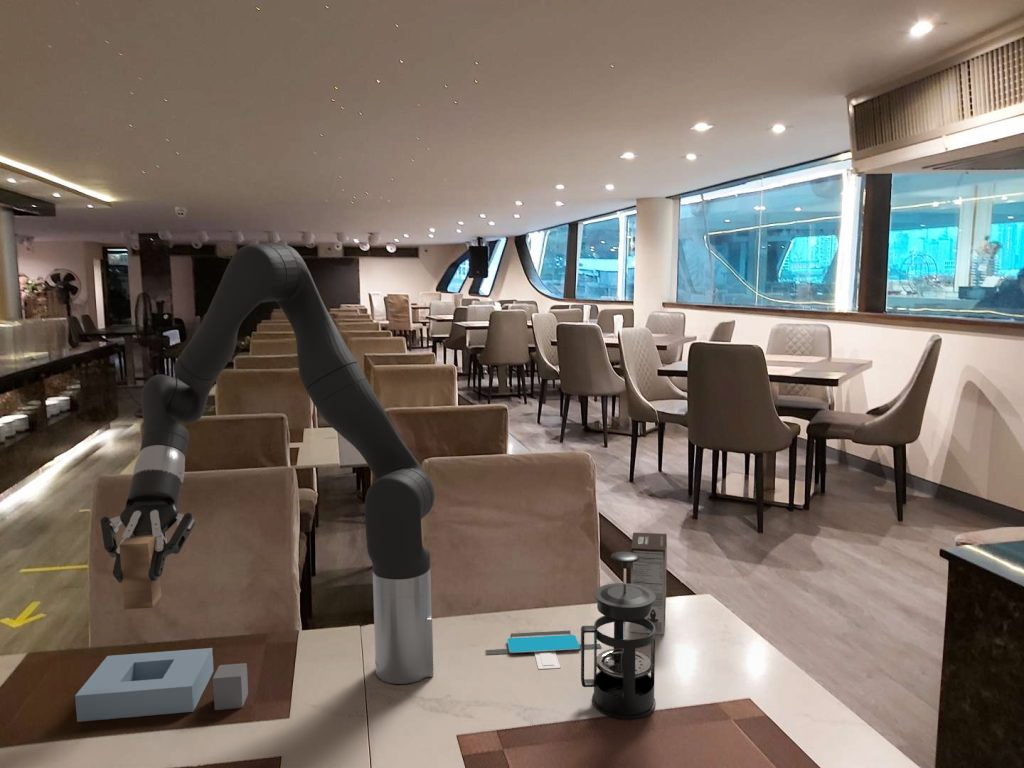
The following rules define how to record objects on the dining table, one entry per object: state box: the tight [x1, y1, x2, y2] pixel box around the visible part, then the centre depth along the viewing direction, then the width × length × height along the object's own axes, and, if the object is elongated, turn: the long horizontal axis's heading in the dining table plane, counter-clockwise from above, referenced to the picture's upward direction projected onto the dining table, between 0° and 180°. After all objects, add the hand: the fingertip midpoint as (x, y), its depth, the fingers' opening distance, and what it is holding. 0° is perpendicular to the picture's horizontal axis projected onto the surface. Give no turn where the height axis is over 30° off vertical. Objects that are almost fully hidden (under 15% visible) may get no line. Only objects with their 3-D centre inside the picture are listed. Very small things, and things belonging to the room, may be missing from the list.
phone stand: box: [485, 629, 602, 671], centre depth 126 cm, size 20×12×2 cm, turn 96°
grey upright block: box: [212, 662, 249, 711], centre depth 111 cm, size 4×4×5 cm
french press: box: [580, 551, 657, 721], centre depth 109 cm, size 12×9×23 cm
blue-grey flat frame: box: [74, 647, 215, 723], centre depth 113 cm, size 16×12×4 cm
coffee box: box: [629, 532, 668, 636], centre depth 136 cm, size 9×6×16 cm
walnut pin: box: [118, 535, 162, 610], centre depth 111 cm, size 4×4×10 cm
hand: (136, 579), depth 109 cm, fingers closed on walnut pin, 4 cm apart
